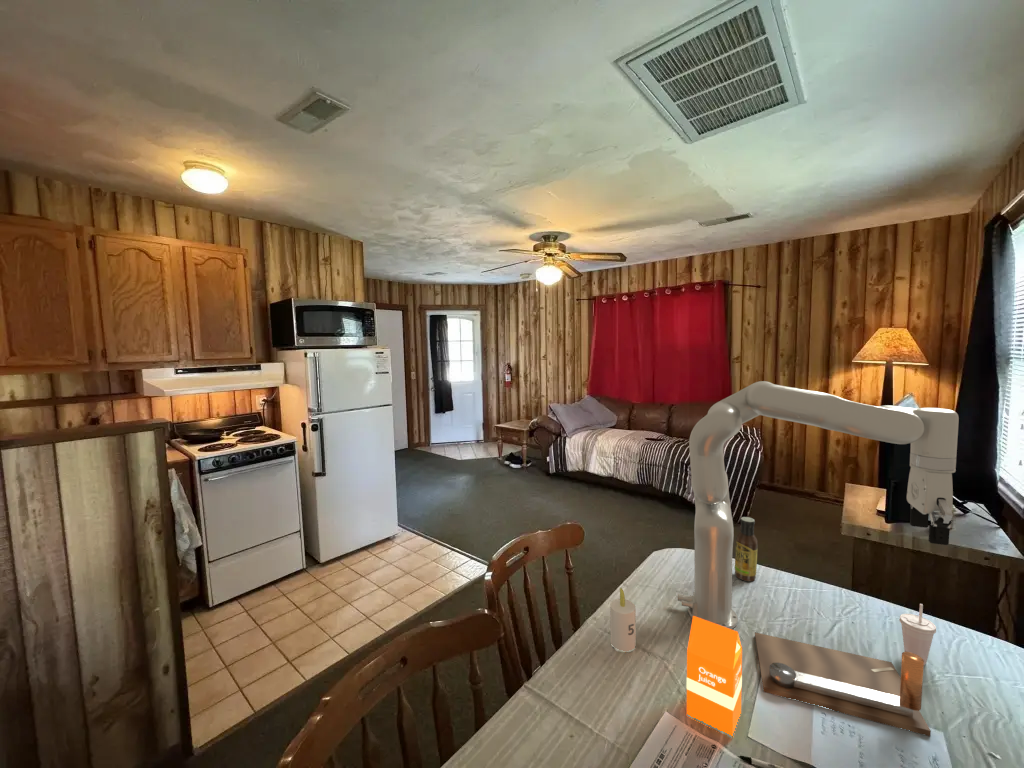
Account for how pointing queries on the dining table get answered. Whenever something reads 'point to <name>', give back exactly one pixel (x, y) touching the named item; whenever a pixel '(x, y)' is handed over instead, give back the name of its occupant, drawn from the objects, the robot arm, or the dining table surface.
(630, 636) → the candle
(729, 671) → the orange juice
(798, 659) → the lever base
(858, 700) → the lever
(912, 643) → the smoothie
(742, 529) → the sauce bottle
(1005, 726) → the dining table surface
